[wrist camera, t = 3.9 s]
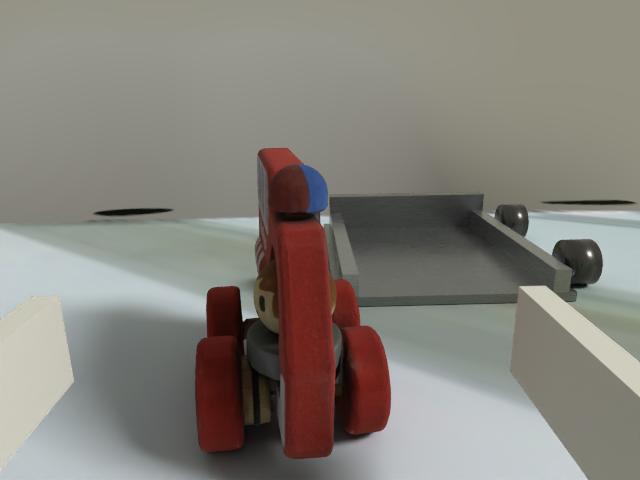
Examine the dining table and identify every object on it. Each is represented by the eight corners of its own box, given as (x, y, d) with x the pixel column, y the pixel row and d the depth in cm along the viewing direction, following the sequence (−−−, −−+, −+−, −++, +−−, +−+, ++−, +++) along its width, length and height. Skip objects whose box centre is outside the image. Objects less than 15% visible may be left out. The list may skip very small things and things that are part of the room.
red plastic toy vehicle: (195, 522, 15) (158, 189, 12) (214, 336, 27) (198, 143, 24) (411, 492, 16) (425, 178, 13) (339, 326, 28) (338, 139, 25)
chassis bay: (296, 308, 30) (295, 251, 29) (300, 230, 48) (299, 193, 46) (612, 300, 31) (621, 244, 30) (502, 226, 48) (505, 189, 47)
